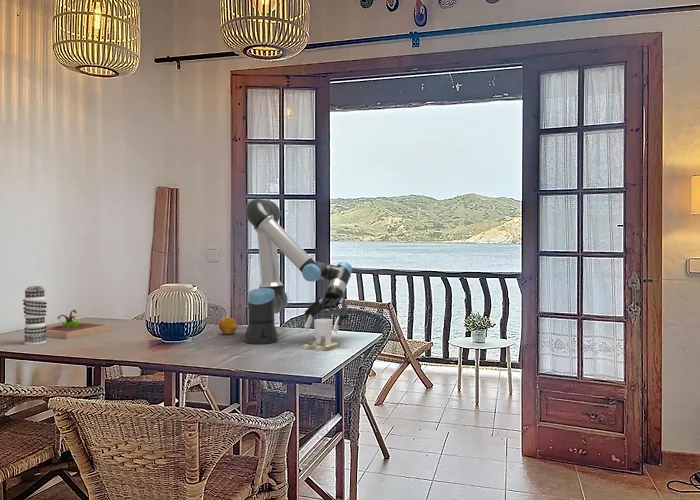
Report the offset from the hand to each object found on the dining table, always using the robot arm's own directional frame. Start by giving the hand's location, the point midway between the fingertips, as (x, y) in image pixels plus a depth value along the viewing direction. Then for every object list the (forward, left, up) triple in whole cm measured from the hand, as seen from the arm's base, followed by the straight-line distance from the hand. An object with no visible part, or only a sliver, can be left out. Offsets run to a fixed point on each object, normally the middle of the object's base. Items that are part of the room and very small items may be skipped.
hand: (320, 329), depth 238 cm
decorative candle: (-120, -43, -8) cm, 128 cm away
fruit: (-56, +11, -8) cm, 58 cm away
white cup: (0, +2, -6) cm, 7 cm away
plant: (-129, -17, -8) cm, 131 cm away
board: (0, +1, -8) cm, 8 cm away
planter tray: (-128, -18, -8) cm, 129 cm away
